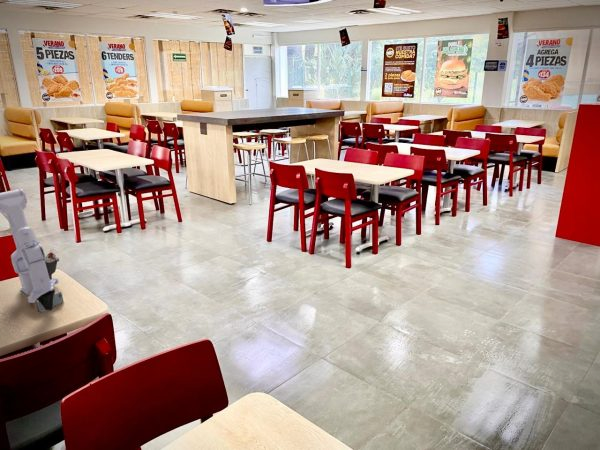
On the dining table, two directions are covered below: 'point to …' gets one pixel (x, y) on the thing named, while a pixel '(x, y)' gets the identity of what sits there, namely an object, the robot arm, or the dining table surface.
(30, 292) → the cabinet
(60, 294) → the door
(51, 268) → the sundae
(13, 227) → the robot arm
